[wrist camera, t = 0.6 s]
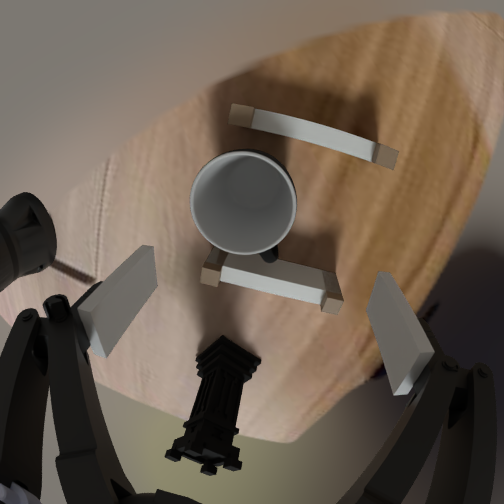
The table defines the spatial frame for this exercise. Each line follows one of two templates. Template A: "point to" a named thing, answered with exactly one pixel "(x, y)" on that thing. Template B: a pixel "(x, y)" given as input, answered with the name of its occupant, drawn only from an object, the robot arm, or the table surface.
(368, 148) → the chute
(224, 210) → the mug
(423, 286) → the table surface
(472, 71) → the table surface
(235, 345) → the chess piece
